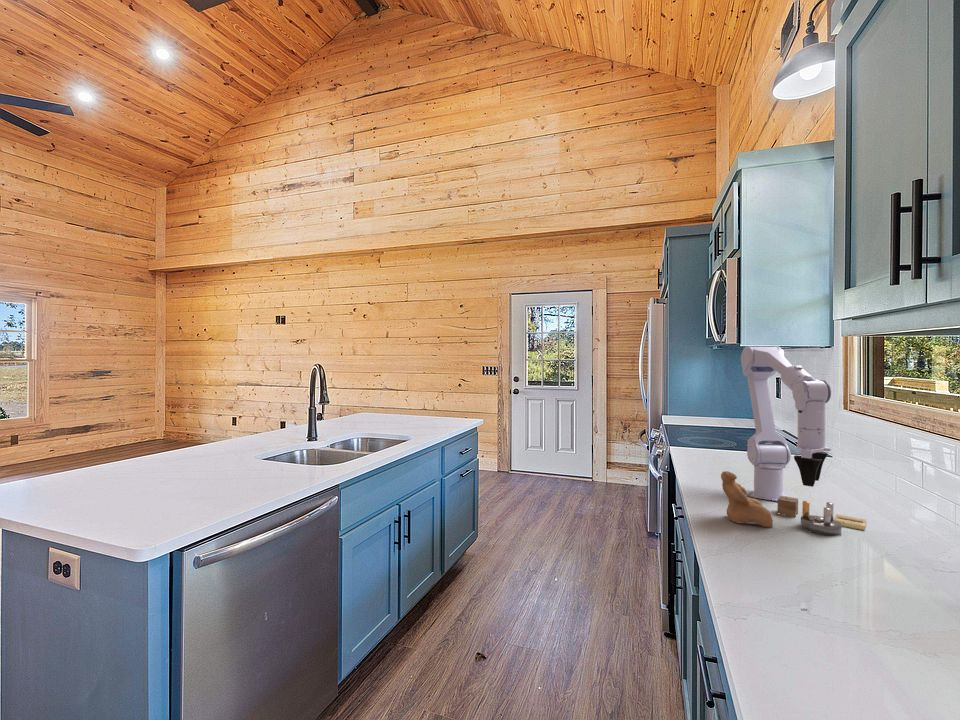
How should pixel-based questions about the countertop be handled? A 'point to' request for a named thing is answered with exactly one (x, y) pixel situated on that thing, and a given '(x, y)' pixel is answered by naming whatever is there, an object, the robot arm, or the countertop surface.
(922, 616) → the countertop surface
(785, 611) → the countertop surface
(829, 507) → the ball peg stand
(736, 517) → the figurine
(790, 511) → the block
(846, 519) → the pad
